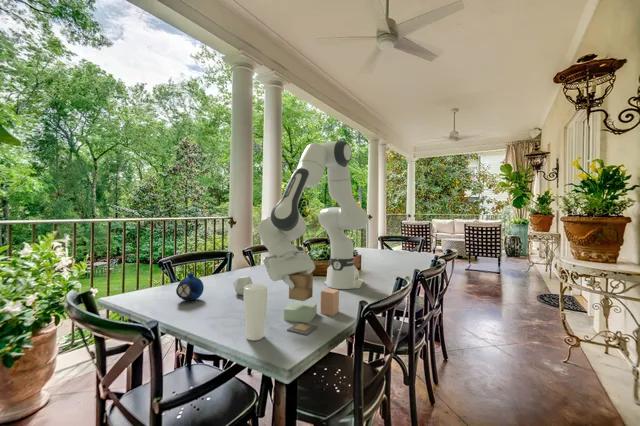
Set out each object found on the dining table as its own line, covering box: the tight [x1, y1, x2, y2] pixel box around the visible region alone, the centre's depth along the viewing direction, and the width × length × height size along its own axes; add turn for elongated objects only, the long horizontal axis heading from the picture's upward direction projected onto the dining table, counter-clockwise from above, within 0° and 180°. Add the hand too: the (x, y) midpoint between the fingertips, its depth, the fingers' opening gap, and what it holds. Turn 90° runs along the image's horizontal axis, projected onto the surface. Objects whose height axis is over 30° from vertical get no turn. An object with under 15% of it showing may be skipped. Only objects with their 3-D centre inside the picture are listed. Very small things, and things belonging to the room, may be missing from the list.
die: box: [232, 275, 254, 297], centre depth 130 cm, size 8×9×10 cm
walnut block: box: [288, 273, 314, 302], centre depth 103 cm, size 6×6×8 cm
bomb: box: [175, 264, 205, 302], centre depth 119 cm, size 10×11×15 cm
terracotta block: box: [320, 287, 340, 316], centre depth 108 cm, size 5×5×8 cm
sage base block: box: [283, 300, 318, 324], centre depth 103 cm, size 9×9×4 cm
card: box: [286, 322, 318, 336], centre depth 93 cm, size 7×7×1 cm
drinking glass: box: [243, 283, 268, 342], centre depth 86 cm, size 7×7×15 cm
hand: (302, 285), depth 103 cm, fingers closed on walnut block, 7 cm apart
